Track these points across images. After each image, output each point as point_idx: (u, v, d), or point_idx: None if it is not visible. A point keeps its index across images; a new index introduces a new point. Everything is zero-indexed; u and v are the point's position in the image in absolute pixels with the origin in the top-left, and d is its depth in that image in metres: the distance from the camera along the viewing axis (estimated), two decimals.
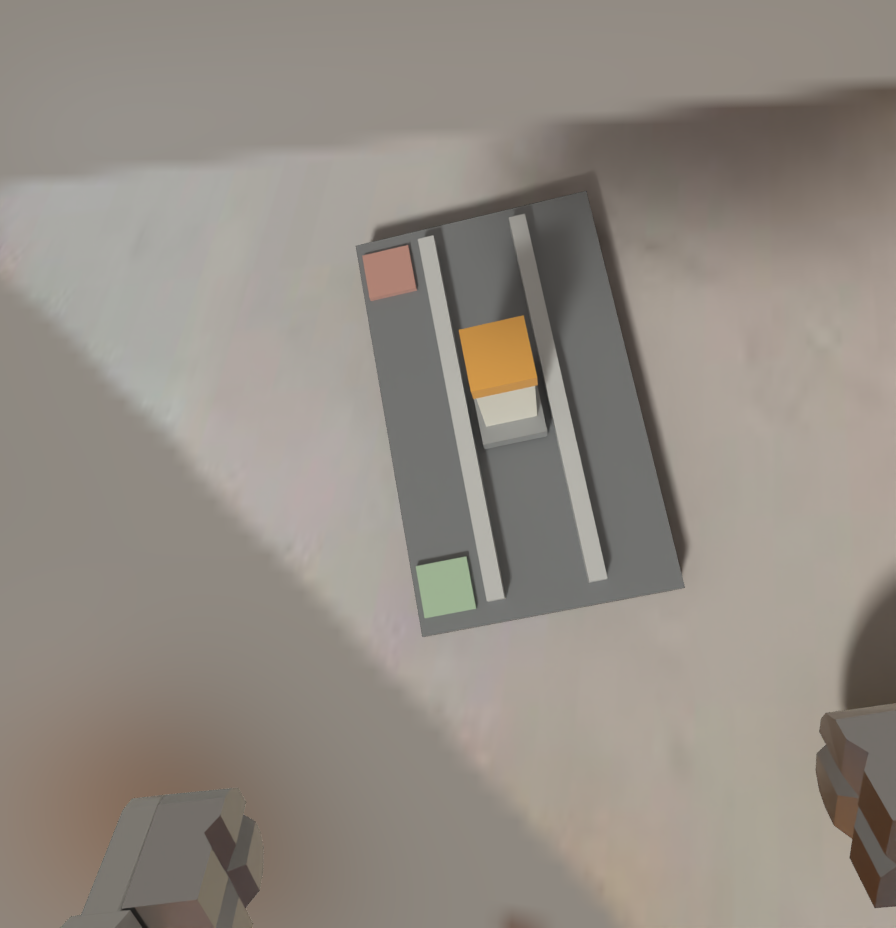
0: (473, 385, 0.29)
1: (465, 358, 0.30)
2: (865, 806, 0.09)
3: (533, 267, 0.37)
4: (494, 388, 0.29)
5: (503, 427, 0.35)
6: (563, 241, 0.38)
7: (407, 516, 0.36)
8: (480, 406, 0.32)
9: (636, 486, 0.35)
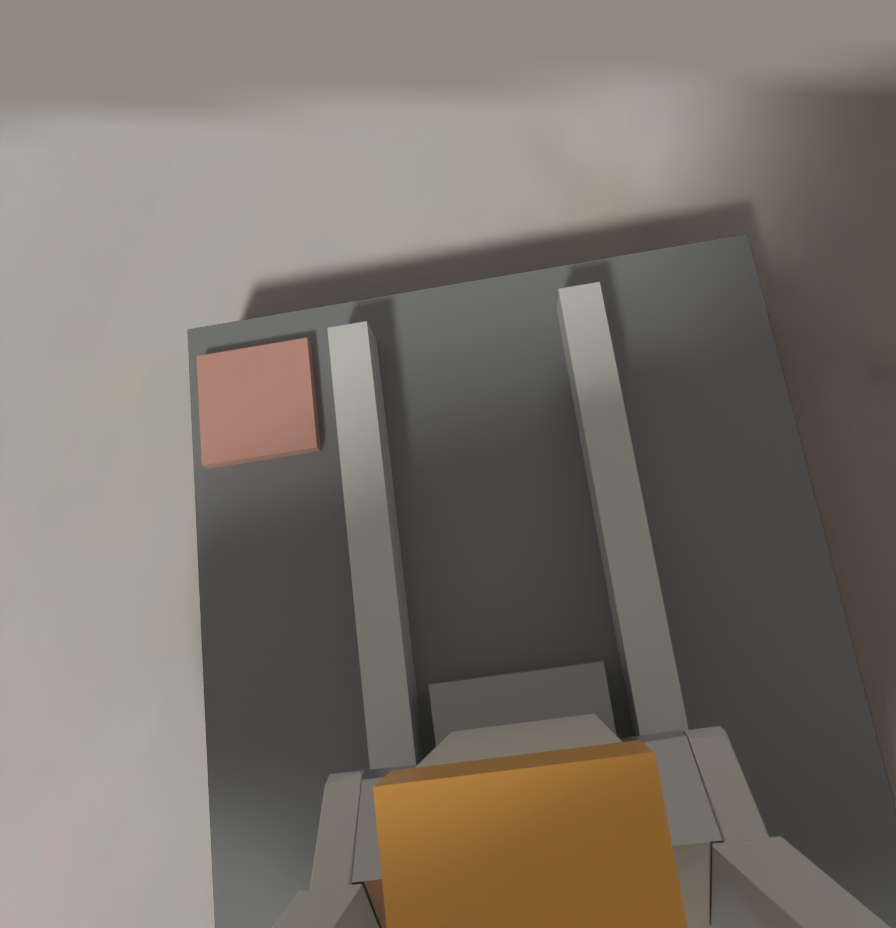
0: None
1: None
2: None
3: (618, 423, 0.14)
4: None
5: None
6: (688, 356, 0.15)
7: None
8: None
9: None
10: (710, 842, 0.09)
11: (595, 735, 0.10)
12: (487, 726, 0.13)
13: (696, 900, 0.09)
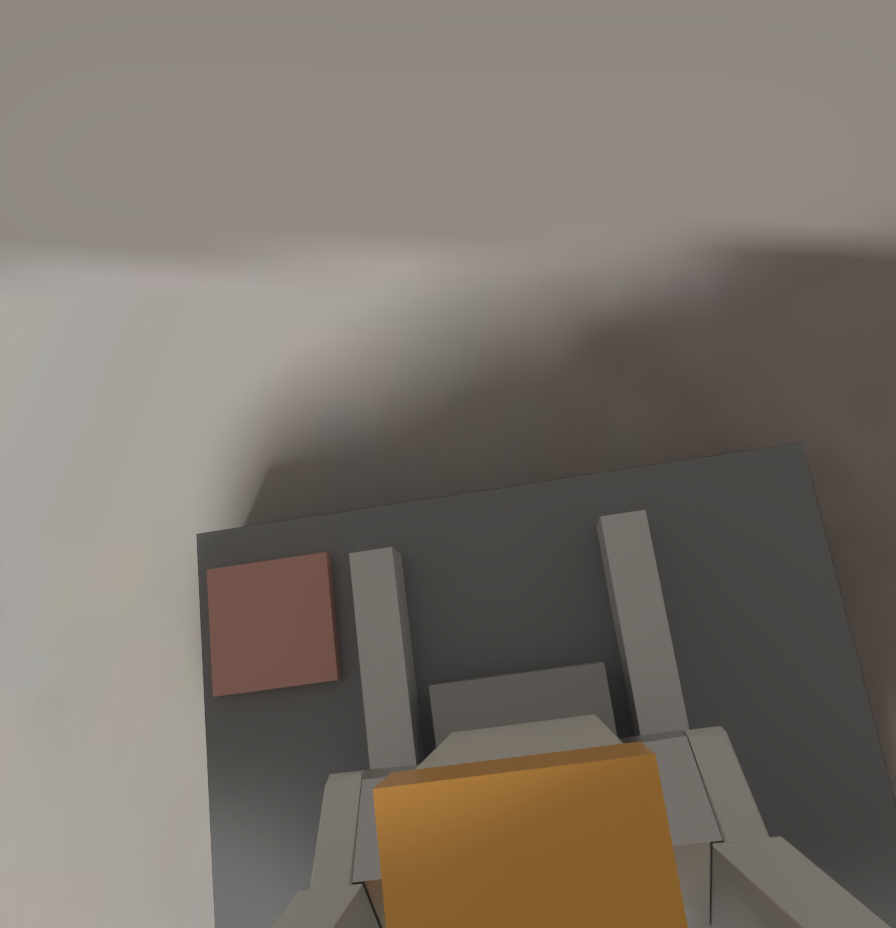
0: None
1: None
2: None
3: (669, 677, 0.13)
4: None
5: None
6: (740, 582, 0.14)
7: None
8: None
9: None
10: (710, 842, 0.09)
11: (596, 736, 0.10)
12: (488, 727, 0.13)
13: (696, 900, 0.09)
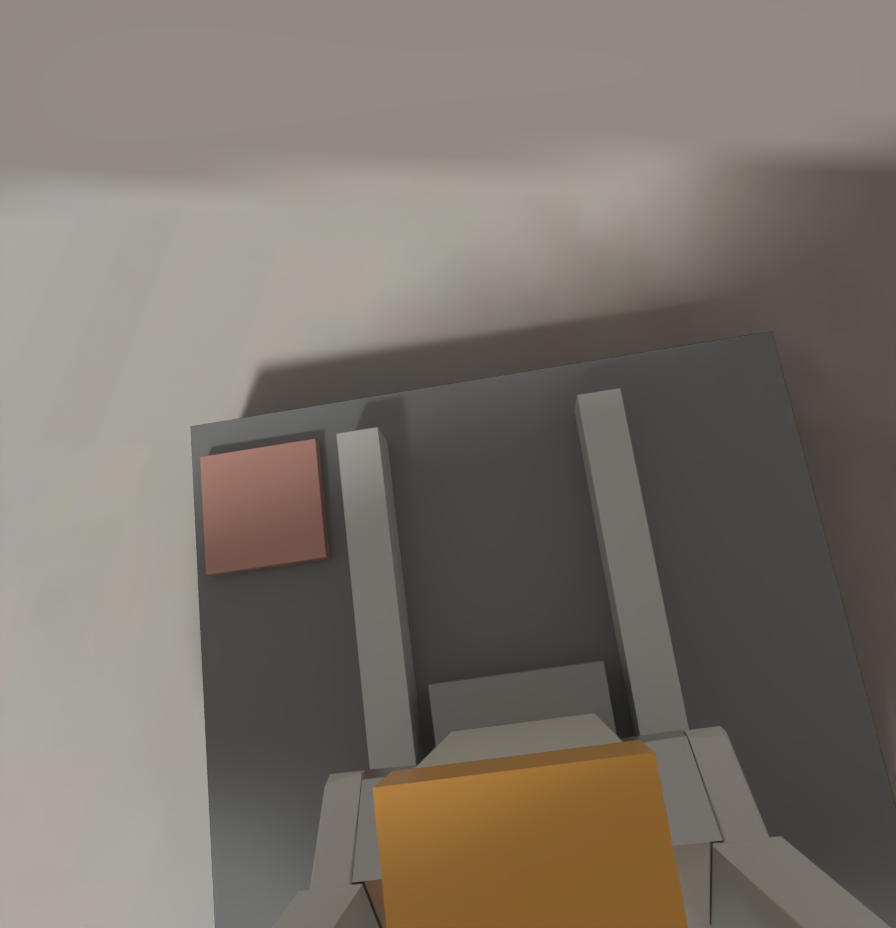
0: None
1: None
2: None
3: (642, 541, 0.13)
4: None
5: None
6: (712, 461, 0.15)
7: None
8: None
9: None
10: (710, 842, 0.09)
11: (595, 735, 0.10)
12: (487, 726, 0.13)
13: (696, 900, 0.09)
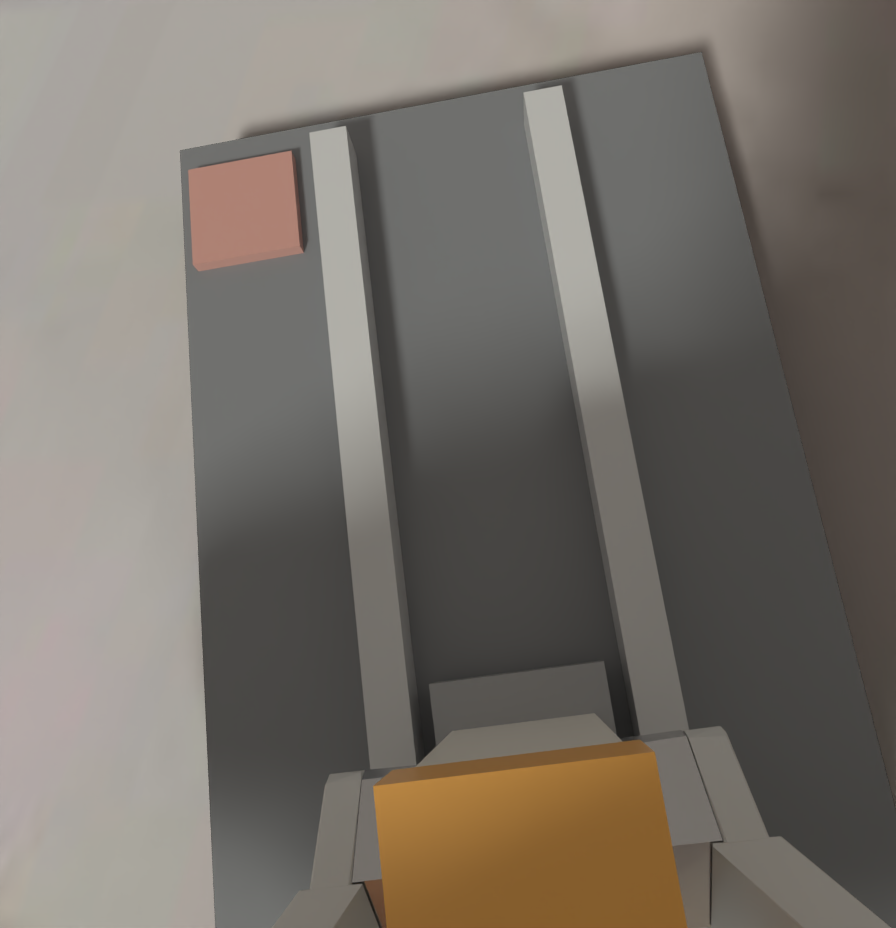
0: None
1: None
2: None
3: (577, 207, 0.15)
4: None
5: None
6: (645, 160, 0.16)
7: (224, 814, 0.14)
8: None
9: (827, 787, 0.13)
10: (710, 842, 0.09)
11: (595, 735, 0.10)
12: (487, 725, 0.13)
13: (696, 900, 0.09)
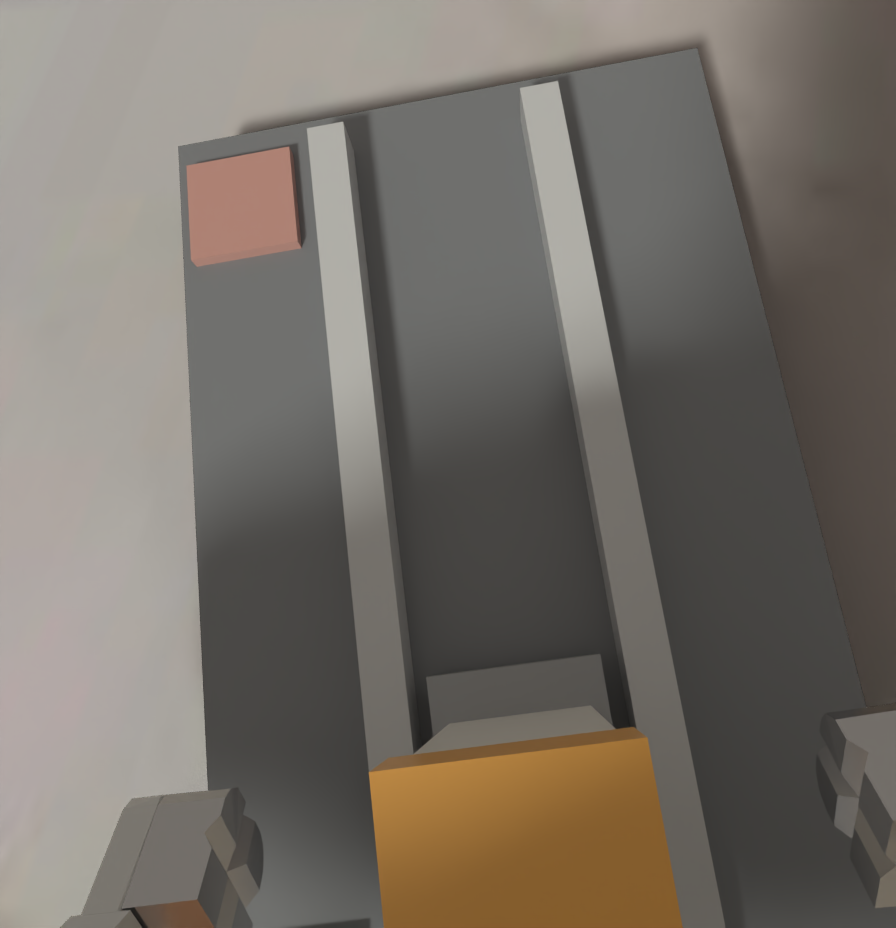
0: None
1: (387, 917, 0.07)
2: (865, 806, 0.09)
3: (573, 202, 0.15)
4: None
5: None
6: (641, 155, 0.16)
7: None
8: None
9: None
10: None
11: (590, 724, 0.10)
12: (484, 718, 0.13)
13: None
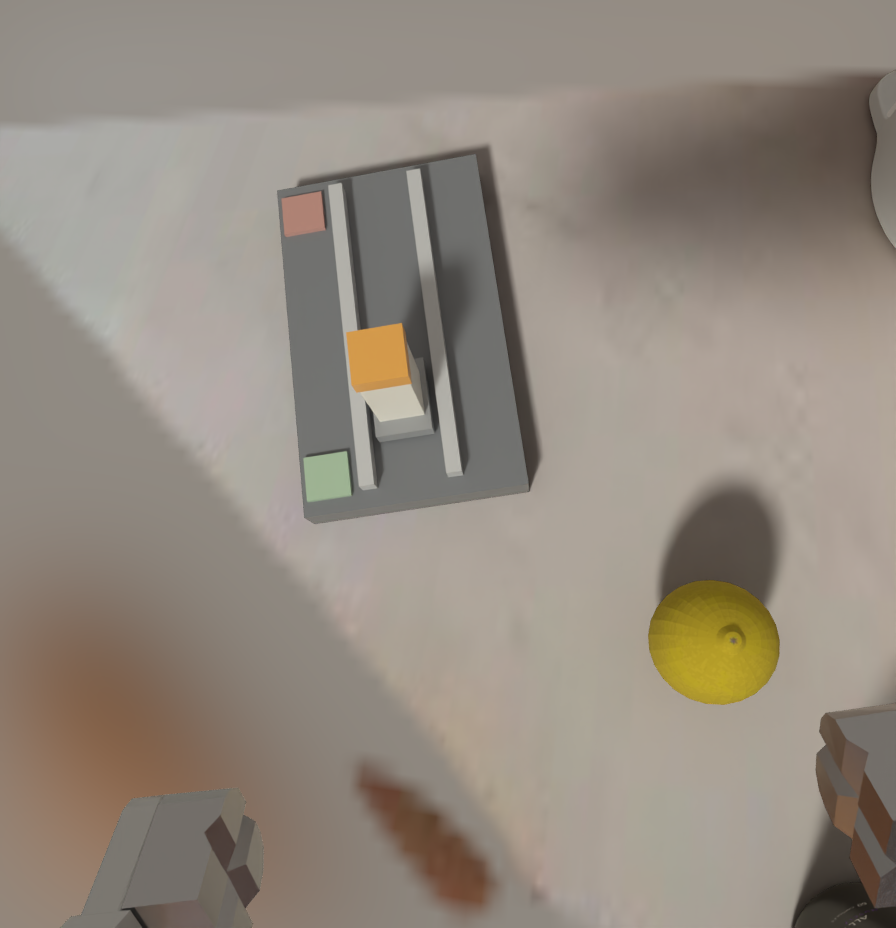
0: (354, 380, 0.34)
1: (349, 356, 0.34)
2: (865, 806, 0.09)
3: (423, 212, 0.43)
4: (372, 383, 0.34)
5: (394, 423, 0.40)
6: (452, 195, 0.44)
7: (300, 417, 0.42)
8: (366, 400, 0.37)
9: (495, 398, 0.41)
10: None
11: None
12: None
13: None
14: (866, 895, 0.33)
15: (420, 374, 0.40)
